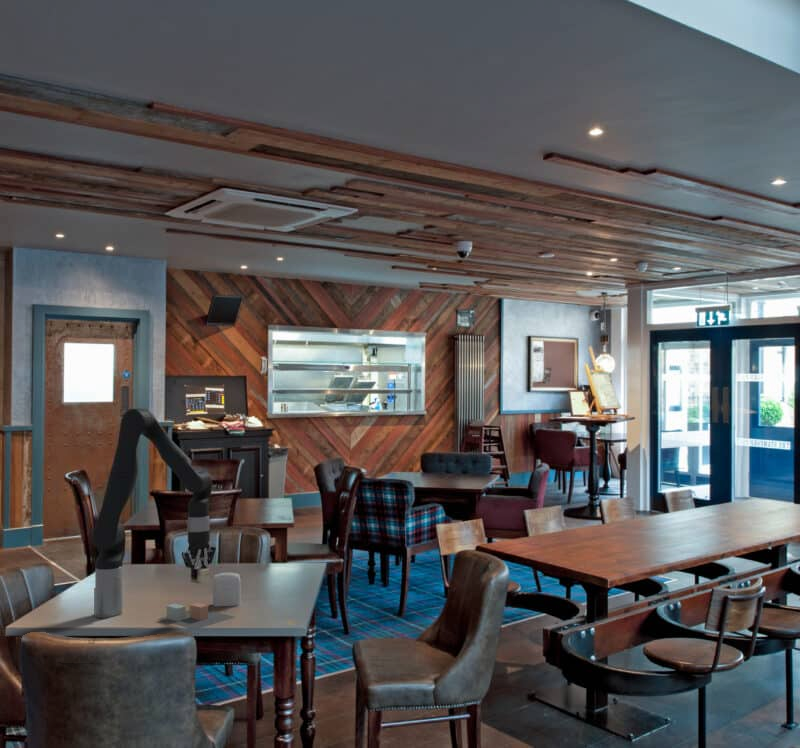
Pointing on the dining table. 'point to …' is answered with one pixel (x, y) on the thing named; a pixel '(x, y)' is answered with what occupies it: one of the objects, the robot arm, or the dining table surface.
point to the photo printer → (227, 589)
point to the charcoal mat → (195, 624)
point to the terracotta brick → (198, 611)
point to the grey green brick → (175, 612)
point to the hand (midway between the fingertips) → (199, 577)
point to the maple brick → (201, 576)
